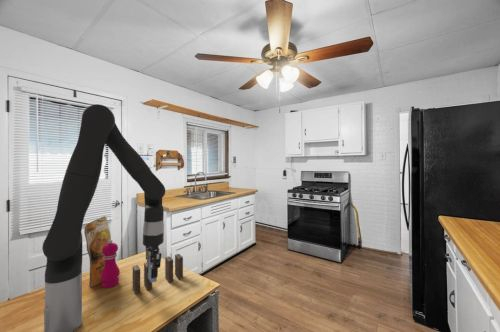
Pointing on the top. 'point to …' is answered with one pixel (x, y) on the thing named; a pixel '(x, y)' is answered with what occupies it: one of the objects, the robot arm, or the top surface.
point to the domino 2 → (146, 278)
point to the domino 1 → (136, 279)
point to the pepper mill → (110, 265)
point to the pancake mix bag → (96, 247)
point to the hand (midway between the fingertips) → (152, 274)
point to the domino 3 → (150, 273)
